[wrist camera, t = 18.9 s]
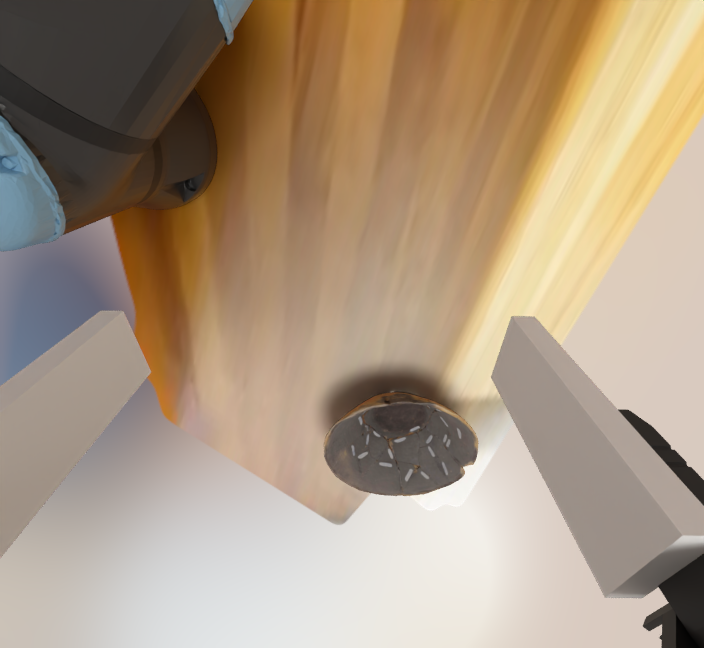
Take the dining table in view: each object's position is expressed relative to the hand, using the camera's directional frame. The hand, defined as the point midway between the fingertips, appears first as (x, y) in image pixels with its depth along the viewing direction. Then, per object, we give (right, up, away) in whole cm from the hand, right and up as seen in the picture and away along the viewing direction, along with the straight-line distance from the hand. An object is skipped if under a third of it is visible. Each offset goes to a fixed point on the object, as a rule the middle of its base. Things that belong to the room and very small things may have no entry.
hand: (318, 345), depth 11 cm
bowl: (+9, -15, +48) cm, 51 cm away
